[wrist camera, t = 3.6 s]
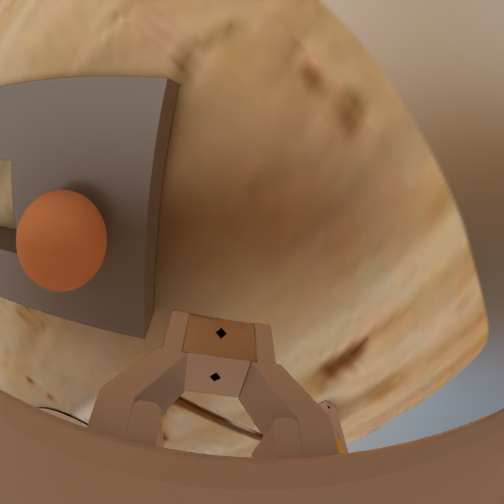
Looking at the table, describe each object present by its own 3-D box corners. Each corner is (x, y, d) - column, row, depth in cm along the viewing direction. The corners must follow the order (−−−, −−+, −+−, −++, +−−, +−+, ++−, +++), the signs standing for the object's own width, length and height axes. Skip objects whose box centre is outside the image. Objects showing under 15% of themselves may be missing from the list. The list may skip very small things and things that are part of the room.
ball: (120, 267, 16) (87, 323, 11) (52, 252, 15) (9, 298, 10) (122, 183, 13) (76, 219, 9) (47, 174, 13) (-9, 205, 8)
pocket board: (153, 311, 21) (144, 338, 18) (-23, 264, 18) (-39, 280, 15) (179, 84, 14) (167, 78, 11) (-34, 97, 11) (-57, 102, 8)
